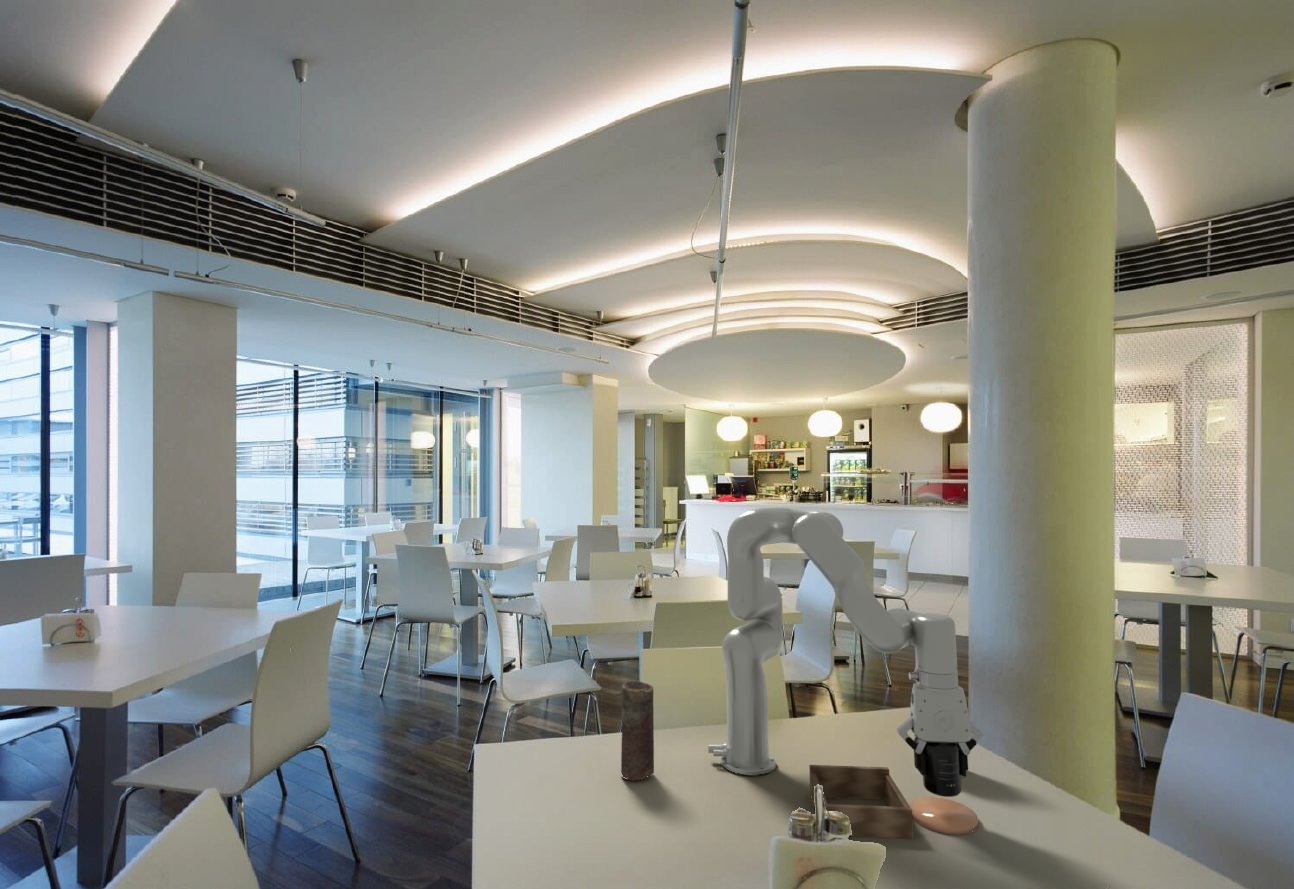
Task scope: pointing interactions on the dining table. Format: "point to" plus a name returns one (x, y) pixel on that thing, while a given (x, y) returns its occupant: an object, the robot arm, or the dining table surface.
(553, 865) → the dining table surface
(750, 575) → the robot arm
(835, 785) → the open wooden box
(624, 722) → the candle
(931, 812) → the saucer
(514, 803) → the dining table surface
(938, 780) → the supplement bottle
